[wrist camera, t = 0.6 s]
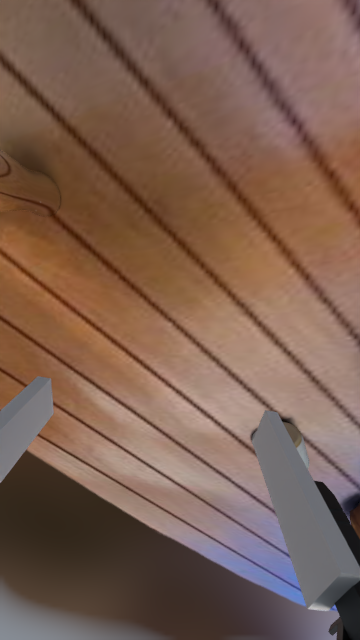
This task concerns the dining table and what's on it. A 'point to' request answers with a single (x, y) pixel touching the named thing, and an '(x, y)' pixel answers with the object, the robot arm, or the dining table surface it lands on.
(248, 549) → the dining table surface
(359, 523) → the butternut squash
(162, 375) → the dining table surface
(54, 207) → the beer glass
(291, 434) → the ceramic mug
